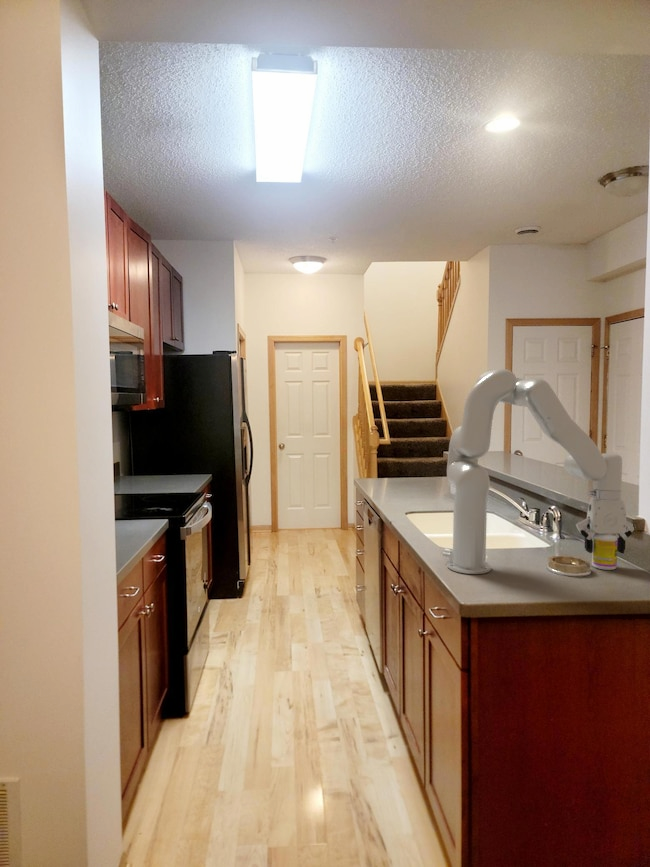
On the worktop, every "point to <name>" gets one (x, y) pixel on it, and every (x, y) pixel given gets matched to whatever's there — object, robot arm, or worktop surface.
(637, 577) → the worktop surface
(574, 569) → the flange plate
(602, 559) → the supplement bottle
